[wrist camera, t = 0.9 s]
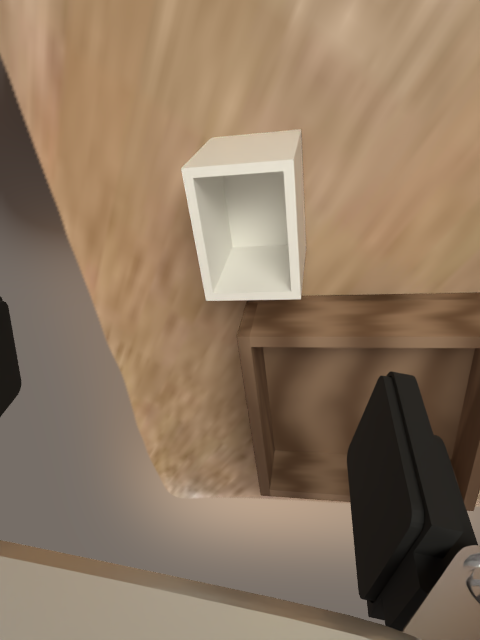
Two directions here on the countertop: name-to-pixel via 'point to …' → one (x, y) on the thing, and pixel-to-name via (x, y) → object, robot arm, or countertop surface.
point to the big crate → (355, 381)
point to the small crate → (249, 215)
